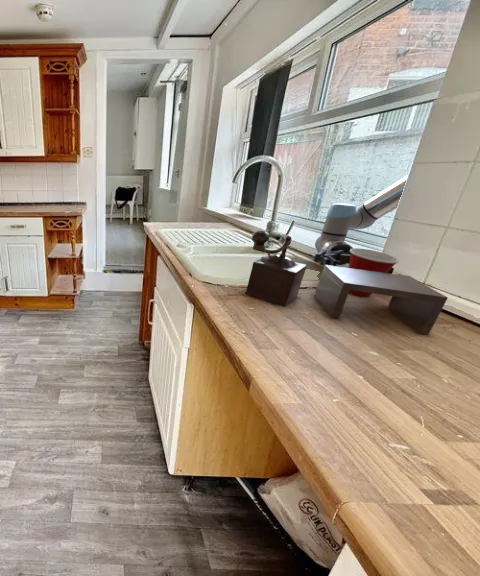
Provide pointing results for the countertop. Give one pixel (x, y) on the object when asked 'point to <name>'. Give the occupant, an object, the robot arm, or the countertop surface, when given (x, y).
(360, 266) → the plastic cup
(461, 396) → the countertop surface
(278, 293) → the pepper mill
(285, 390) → the countertop surface
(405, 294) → the shelf
